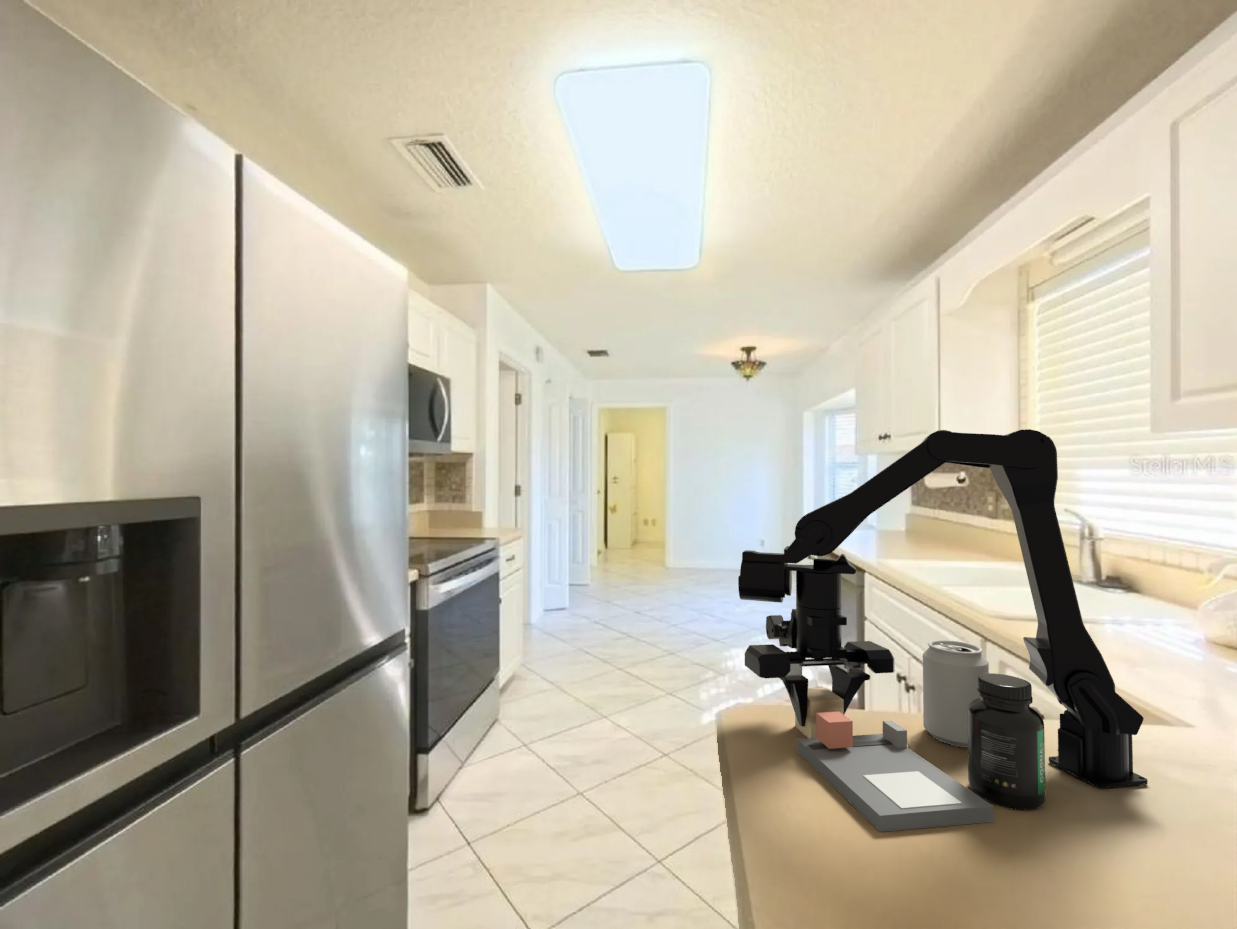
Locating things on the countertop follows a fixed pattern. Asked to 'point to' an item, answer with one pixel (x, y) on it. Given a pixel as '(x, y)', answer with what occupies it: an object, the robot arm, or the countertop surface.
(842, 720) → the salmon red cube
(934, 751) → the countertop surface
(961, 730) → the can
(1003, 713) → the supplement bottle
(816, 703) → the block
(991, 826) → the countertop surface
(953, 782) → the base
